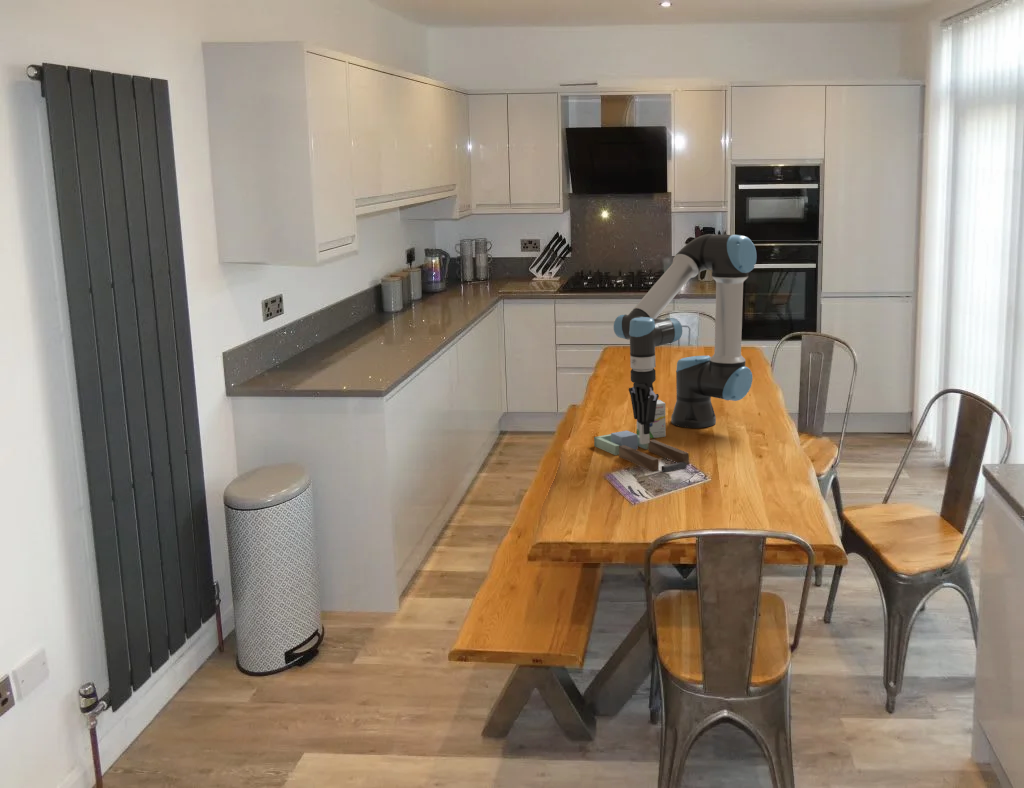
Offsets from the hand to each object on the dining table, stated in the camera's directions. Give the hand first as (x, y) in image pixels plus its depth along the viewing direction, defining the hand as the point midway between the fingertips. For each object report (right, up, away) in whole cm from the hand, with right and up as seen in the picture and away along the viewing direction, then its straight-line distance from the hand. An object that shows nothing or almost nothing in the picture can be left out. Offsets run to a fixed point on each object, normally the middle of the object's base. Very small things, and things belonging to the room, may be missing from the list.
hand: (644, 443), depth 312 cm
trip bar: (+7, -7, -13) cm, 16 cm away
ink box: (+5, +1, +22) cm, 23 cm away
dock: (-6, -2, +11) cm, 13 cm away
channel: (+2, -5, -4) cm, 7 cm away
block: (-5, -2, +10) cm, 11 cm away
